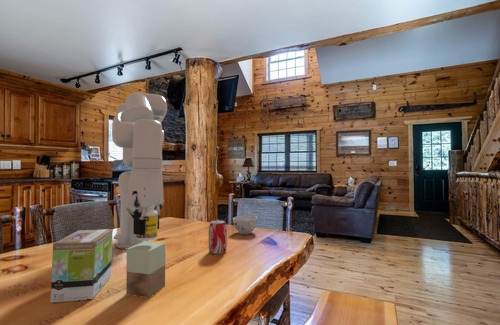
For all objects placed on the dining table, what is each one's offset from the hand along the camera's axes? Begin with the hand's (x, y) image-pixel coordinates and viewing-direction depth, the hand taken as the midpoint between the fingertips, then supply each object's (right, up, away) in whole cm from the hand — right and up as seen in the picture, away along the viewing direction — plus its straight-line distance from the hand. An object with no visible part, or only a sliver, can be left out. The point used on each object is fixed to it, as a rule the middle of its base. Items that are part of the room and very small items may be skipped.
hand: (146, 230), depth 73 cm
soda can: (+16, -17, +32) cm, 39 cm away
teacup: (+26, -17, +61) cm, 69 cm away
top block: (0, -10, 0) cm, 10 cm away
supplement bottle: (0, -2, 0) cm, 2 cm away
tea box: (-17, -16, 0) cm, 24 cm away
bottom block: (0, -16, 0) cm, 16 cm away
